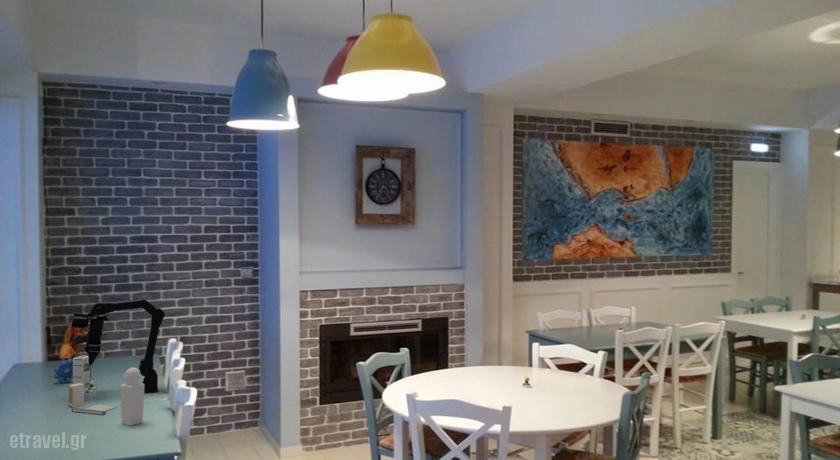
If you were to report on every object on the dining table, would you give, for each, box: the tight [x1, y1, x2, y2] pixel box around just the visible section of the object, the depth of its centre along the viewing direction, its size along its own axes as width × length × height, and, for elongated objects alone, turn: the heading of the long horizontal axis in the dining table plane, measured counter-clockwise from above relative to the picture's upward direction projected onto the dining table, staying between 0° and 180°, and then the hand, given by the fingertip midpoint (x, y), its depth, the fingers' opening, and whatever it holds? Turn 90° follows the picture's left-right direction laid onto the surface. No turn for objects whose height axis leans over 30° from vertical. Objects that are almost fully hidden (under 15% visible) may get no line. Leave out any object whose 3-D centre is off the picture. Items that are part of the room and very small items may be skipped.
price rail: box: [71, 407, 107, 416], centre depth 271 cm, size 16×1×1 cm, turn 75°
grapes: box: [53, 358, 73, 384], centre depth 323 cm, size 12×7×12 cm, turn 116°
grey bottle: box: [120, 367, 145, 427], centre depth 258 cm, size 6×6×22 cm
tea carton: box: [68, 383, 85, 408], centre depth 283 cm, size 5×5×9 cm
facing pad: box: [85, 404, 118, 412], centre depth 277 cm, size 10×10×1 cm
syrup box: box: [72, 355, 92, 388], centre depth 317 cm, size 6×6×14 cm
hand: (90, 363), depth 297 cm, fingers open, 9 cm apart
